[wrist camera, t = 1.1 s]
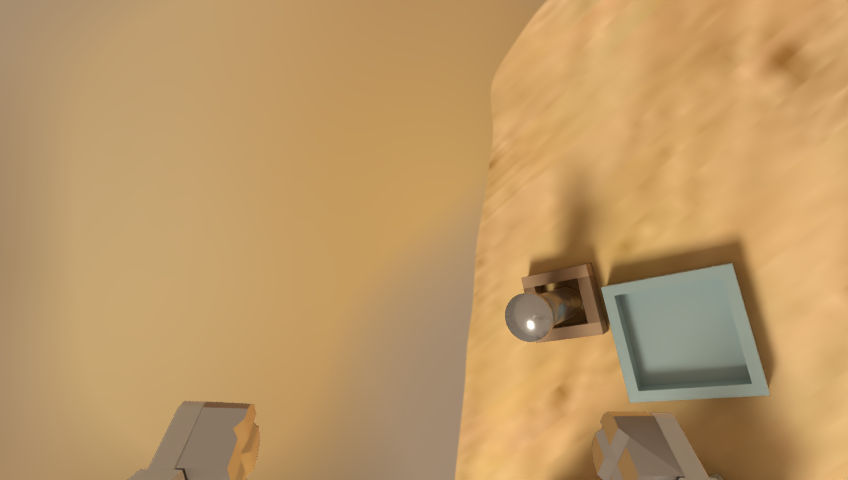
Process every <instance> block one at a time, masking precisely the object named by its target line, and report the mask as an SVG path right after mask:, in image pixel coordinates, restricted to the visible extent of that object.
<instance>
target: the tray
mask: <svg viewBox="0 0 848 480" xmlns="http://www.w3.org/2000/svg"><path fill="white" fill-rule="evenodd" d="M601 290H602V294H603V298H604V302H605V306H606V310H607V313H608V317H609V321H610V325H611V329H612V333H613V337H614V341H615V345H616V349H617V353H618V357H619V361H620V365H621V369H622V373H623V377H624V381H625V385H626V389H627V393H628V397H629V401H630V403H634V402H653V401H672V400H692V399H711V398H730V397H750V396H769V395H770V392H769V387H768V383H767V380H766V376H765V373H764V369H763V366H762V362H761V359H760V355H759V352H758V348H757V345H756V341H755V338H754V334H753V331H752V327H751V324H750V321H749V317H748V314H747V310H746V307H745V303H744V300H743V296H742V293H741V289H740V286H739V282H738V279H737V275H736V272H735V268H734V265H733V262H731V263H725V264H720V265H715V266H709V267H704V268H698V269H693V270H687V271H682V272H676V273H671V274H665V275H660V276H654V277H649V278H644V279H638V280H633V281H627V282H622V283H616V284H611V285H606V286H604V287H601Z"/></svg>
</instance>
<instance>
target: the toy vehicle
mask: <svg viewBox="0 0 848 480" xmlns="http://www.w3.org/2000/svg"><path fill="white" fill-rule="evenodd" d="M708 477H709V478H716V479H717V480H723V479H722V477H721V475H720V474H719V473H717V474H713V475H710V476H708Z"/></svg>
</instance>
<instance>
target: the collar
mask: <svg viewBox="0 0 848 480" xmlns="http://www.w3.org/2000/svg"><path fill="white" fill-rule="evenodd" d="M576 278H577V281H578V285H579V289H580V293H581V297H582V301H583V305H584V309H585V313H586V317H587V321H588V322H582V323H575V324H568V325H561V326H554V327H553V329H552V330H551V332H550V333H549V334H548V335H547V336H545V337H544V338H542V339H540V340H537V341H536V343H540V342H548V341H555V340H563V339H571V338H579V337H586V336H594V335H602V334H604V333H606V332H607V331H608V328H607V324H606V320H605V316H604V312H603V308H602V304H601V300H600V296H599V292H598V288H597V284H596V280H595V276H594V272H593V268H592V264H591V263H589V264H584V265H579V266H575V267H570V268H565V269H560V270H556V271H551V272H546V273H541V274H537V275H532V276H527V277H523V278H521V279H522V283H523V288H524V292H525V293H526V292H534V293H538V294H542V293H543V292H542V288H541V285H546V284H551V283H556V282H561V281H566V280H571V279H576Z"/></svg>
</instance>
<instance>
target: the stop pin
mask: <svg viewBox="0 0 848 480" xmlns="http://www.w3.org/2000/svg"><path fill="white" fill-rule="evenodd" d="M581 306H582V301H581V298H580V295H579V294H578V293H577V292H576V291H575V290H574V289H572V288H568V287H563V288H559V289H556V290H552V291H549V292H546V293H542V294H538V293H534V292H526V293H523V294H519V295H517V296H515V297H514V298H512V299H511V300H510V302H509V303H508V305H507V307H506V311H505V319H506V324H507V326H508V328H509V330H510V331H511V333H512V334H513V335H514V336H516V337H517V338H519V339H520V340H523V341H527V342H534V341H537V340H540V339H542V338H544V337H545V336H547V335H548V334H549V333H550V332H551V330H552V329H553V327H554V326H555V325H557V324H559V323H561V322H563V321H565V320H567V319H569V318H571V317H573V316H575V315H577V314H578V313H579V311H580V309H581Z"/></svg>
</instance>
